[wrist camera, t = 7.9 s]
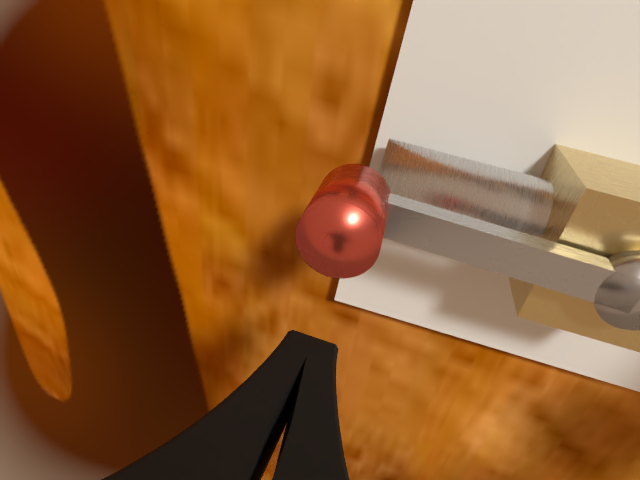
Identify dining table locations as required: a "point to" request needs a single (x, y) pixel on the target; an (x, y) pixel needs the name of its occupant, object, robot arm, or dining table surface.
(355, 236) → the valve lever
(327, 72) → the dining table surface
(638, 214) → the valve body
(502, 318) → the valve board
